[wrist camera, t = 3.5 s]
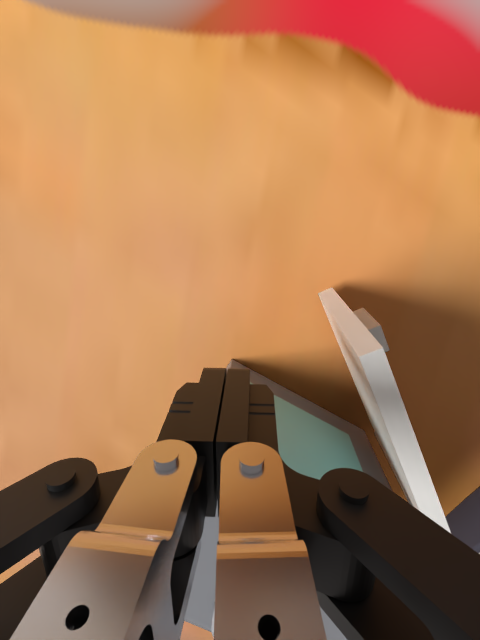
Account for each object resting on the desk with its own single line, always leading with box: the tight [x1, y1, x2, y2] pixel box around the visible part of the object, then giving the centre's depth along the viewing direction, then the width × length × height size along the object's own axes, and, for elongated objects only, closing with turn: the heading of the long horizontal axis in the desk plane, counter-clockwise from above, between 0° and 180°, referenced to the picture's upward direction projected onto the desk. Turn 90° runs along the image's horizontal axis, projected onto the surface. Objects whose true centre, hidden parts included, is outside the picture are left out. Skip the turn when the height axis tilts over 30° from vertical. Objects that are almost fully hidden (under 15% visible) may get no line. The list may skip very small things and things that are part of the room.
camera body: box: [156, 359, 413, 640], centre depth 18 cm, size 13×8×11 cm
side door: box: [318, 287, 451, 533], centre depth 16 cm, size 9×2×8 cm, turn 25°
